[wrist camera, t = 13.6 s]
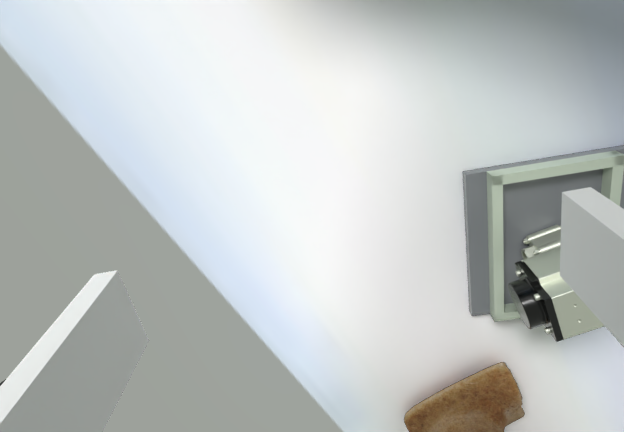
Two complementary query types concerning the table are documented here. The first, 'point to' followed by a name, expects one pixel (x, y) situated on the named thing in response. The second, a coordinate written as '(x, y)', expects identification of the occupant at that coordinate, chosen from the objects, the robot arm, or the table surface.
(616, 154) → the docking tray
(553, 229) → the pneumatic valve
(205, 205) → the table surface
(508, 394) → the stone cup
